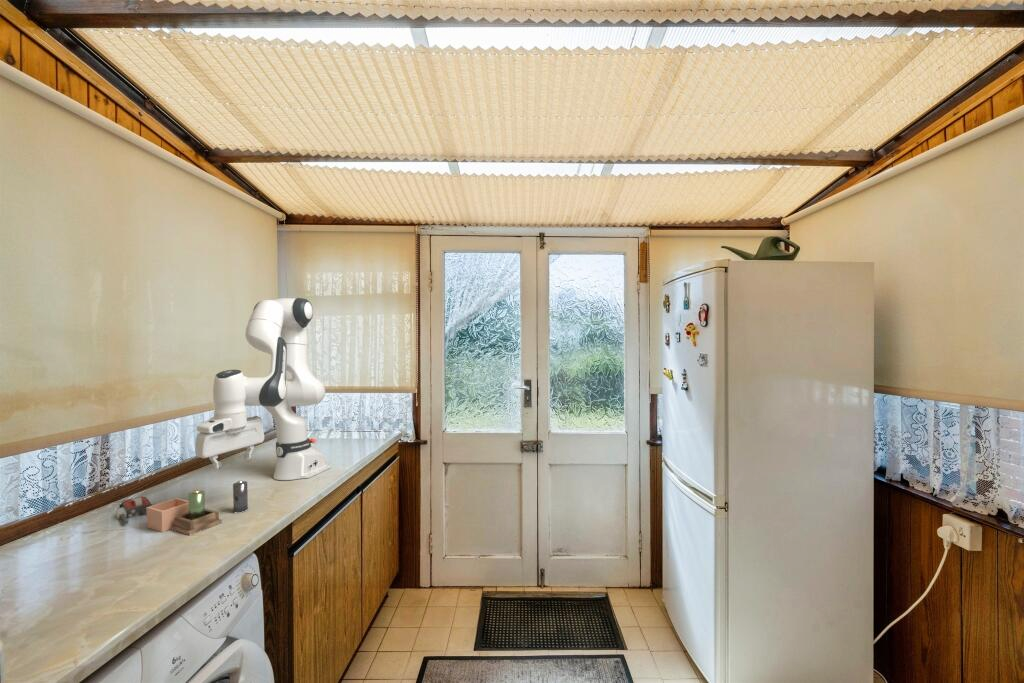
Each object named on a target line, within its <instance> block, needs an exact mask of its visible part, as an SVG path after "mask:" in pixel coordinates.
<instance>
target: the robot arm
mask: <svg viewBox="0 0 1024 683" xmlns="http://www.w3.org/2000/svg"><path fill="white" fill-rule="evenodd" d="M313 317H314V308H313V305H312V303H311V301H309V300H308V299H306V298H303V297H295V298H293V297H284V298H283V297H281V298H274V299H264V300H261V301H258V302H257V303H256V304H255V305H254V307H253V310H252V313H251V315H250V317H249V320H248V323H247V326H246V328H245V339H246V341H247V342H248V344H249V345H250V346H252V348H254V349H255V350H258V351H259V352H263V353H266V354H268V355H270V356H271V359H270V371H269V372H270V373H269V374H268V375H267V376H263V377H262V376H261V377H258V376H257V377H251V376H250V377H249V376H245V375H244V374H243V373H244V372H243V371H242V370H240V369H228V370H227V369H226V370H223V371H219V372H218V373H216V374H215V375H214V379H213V384H212V385H213V387H212V388H213V389H212V391H213V392H212V393H213V394H212V396H213V397H212V398H213V400H212V401H213V403H214V411H213V417H210V418H209V419H207V420H205V421H204V422H201V423H200V424H198V425H197V426H196V429H197V432H198V433H197V435H196V437H195V445H194V447H195V448H194V449H195V451H194V452H195V455H196V456H197V457H198V458H200V459H207V458H209V460H210V461H211V463H212V464H213V468H214V469H215V470H218V469H221V468H222V465H223V464H222V463H223V462H222V461H218V460H217V459H218V457H219V456H218V455H221V454H225V453H229V452H231V451H236V450H240V449H243V448H246V451H245V453H243V454H242V456H243V460H245V461H249V460H250V459H252V453H253V451H254V448H255V445H258V444H261V443H263V442H264V440H265V431H264V427H263V418H262V417H261V416H259V415H254V416H253V415H252V416H250V417H249V416H248V411H247V407H256V406H257V407H259V406H261V407H263V408H265V409H266V410H267V411H268V412H269V413H270V414H271V416H272V418H273V421H274V424H275V430H276V442H275V453H276V460H275V461H276V463H275V468H274V474H273V476H272V478H273V480H277V481H292V480H293V481H294V480H299V479H309V478H312V477H314V476H316V475H319V474H320V473H323V472H325V471H327V470H329V469H331V468H332V464H331V463H328V462H326V456H325V454H324V453H323V452H321V451H320V450H318V449H317V448H314V446H312V444H316V443H317V439H316V438H308V422H307V420H306V418H305V417H303V416H302V415H299V414H297V413H296V412H295V411H293V408H292V407H309V406H314V405H318V404H320V403H321V402H322V401H323V400H324V398H325V396H326V388H325V385H324V383H323V382H322V381H321V380H320V379H318V378H317V377H315V375H314V374H313V373H312V371H311V368H310V366H309V365H310V364H309V356H308V354H309V351H308V349H309V340H308V338H309V336H308V330H307V326H308V325H309V323H310V322H311V320H312V319H313ZM287 372H288V373H290V374H291V376H292V378H291V379H290V378H288V379H287Z"/></svg>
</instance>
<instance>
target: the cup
mask: <svg viewBox="0 0 1024 683" xmlns="http://www.w3.org/2000/svg"><path fill="white" fill-rule="evenodd" d="M146 511H147V513H146V528H149V529H151V530H154V531H158V532H160V531H161V532H160V533H164V532H167V531H170V530H172V529H171V528H172V526H174V525H175V524H174V518H175V517H178V516H180V515H183V514H186V513H189V506H188V499H182V498H178V497H175V498H172V499H169V500H165V501H163V502H158V503H156V504H154V505H153V504H152V506H149V507H146ZM169 529H170V530H169ZM166 530H167V531H166Z"/></svg>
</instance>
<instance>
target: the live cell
mask: <svg viewBox="0 0 1024 683" xmlns="http://www.w3.org/2000/svg"><path fill="white" fill-rule="evenodd" d="M187 495H188V496H187V501H188V506H189V520H194V519H197V518H200V517H203V516H205V508H206V499H205V496H206V495H205V490H200V489H197V490H193V491H192V492H189V493H187Z"/></svg>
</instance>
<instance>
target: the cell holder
mask: <svg viewBox="0 0 1024 683" xmlns="http://www.w3.org/2000/svg"><path fill="white" fill-rule="evenodd" d="M222 521H223V520H222V519H221V518H220V511H216V510H214V509H209V508H206V507H205V516H203V517H200V518H197V519H194V520H189V513H186V514H183V515H180V516H178V517H175V518H174V524H175V525H174V526H172V529H173V530H172V529H171V530H172V531H174V530H176V531H175V532H177V531H179V533H181V532H182V533H181V534H184V533H185V535H187V534H189V535H188V536H191V535H190V534H192V535H194V534H193V533H195V532H197V533H199V532H198V531H200V530H202V531H204V530H203V529H205V530H207V529H206V528H208V529H210V528H212V526H213V527H215V526H217V525H216V524H218V525H220V524H222V523H223V522H222ZM219 523H220V524H219ZM214 525H215V526H214ZM209 527H210V528H209ZM200 532H201V531H200ZM195 534H196V533H195Z"/></svg>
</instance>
